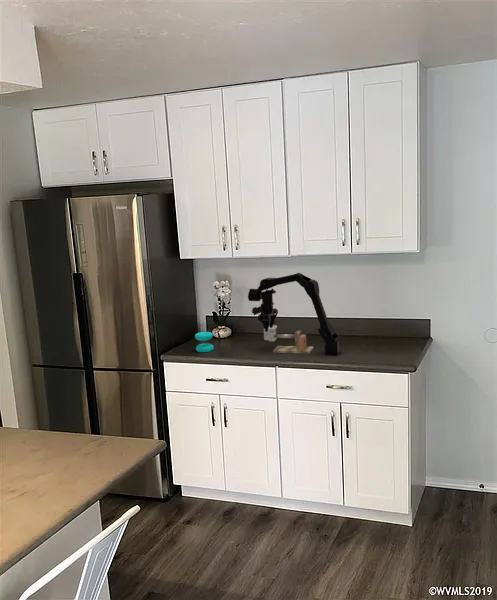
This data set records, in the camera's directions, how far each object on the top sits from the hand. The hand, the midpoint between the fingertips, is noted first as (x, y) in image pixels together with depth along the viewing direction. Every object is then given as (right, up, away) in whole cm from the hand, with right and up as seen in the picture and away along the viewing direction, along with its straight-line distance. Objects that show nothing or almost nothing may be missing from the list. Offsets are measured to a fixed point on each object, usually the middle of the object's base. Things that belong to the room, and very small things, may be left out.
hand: (268, 329), depth 329 cm
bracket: (+13, -11, -2) cm, 17 cm away
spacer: (+18, -10, -4) cm, 21 cm away
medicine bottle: (+2, -7, +28) cm, 29 cm away
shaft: (+7, -6, -1) cm, 9 cm away
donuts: (-35, -12, +10) cm, 39 cm away
